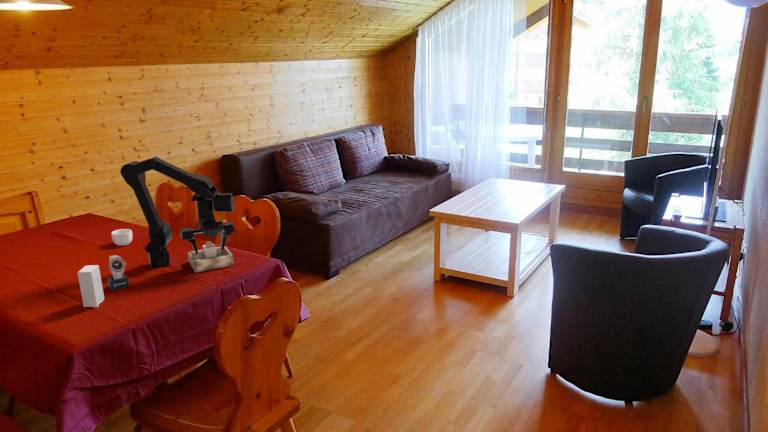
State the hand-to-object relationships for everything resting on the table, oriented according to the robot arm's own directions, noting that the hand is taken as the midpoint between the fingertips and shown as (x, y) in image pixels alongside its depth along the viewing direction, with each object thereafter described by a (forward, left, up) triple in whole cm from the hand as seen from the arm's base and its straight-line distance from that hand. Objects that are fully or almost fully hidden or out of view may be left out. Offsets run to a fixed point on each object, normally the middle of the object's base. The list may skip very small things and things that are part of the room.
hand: (209, 252), depth 209 cm
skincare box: (-40, -17, -5) cm, 44 cm away
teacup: (-27, +43, -5) cm, 51 cm away
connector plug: (0, 0, -4) cm, 4 cm away
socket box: (0, 0, -4) cm, 4 cm away
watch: (-32, -6, -5) cm, 33 cm away
